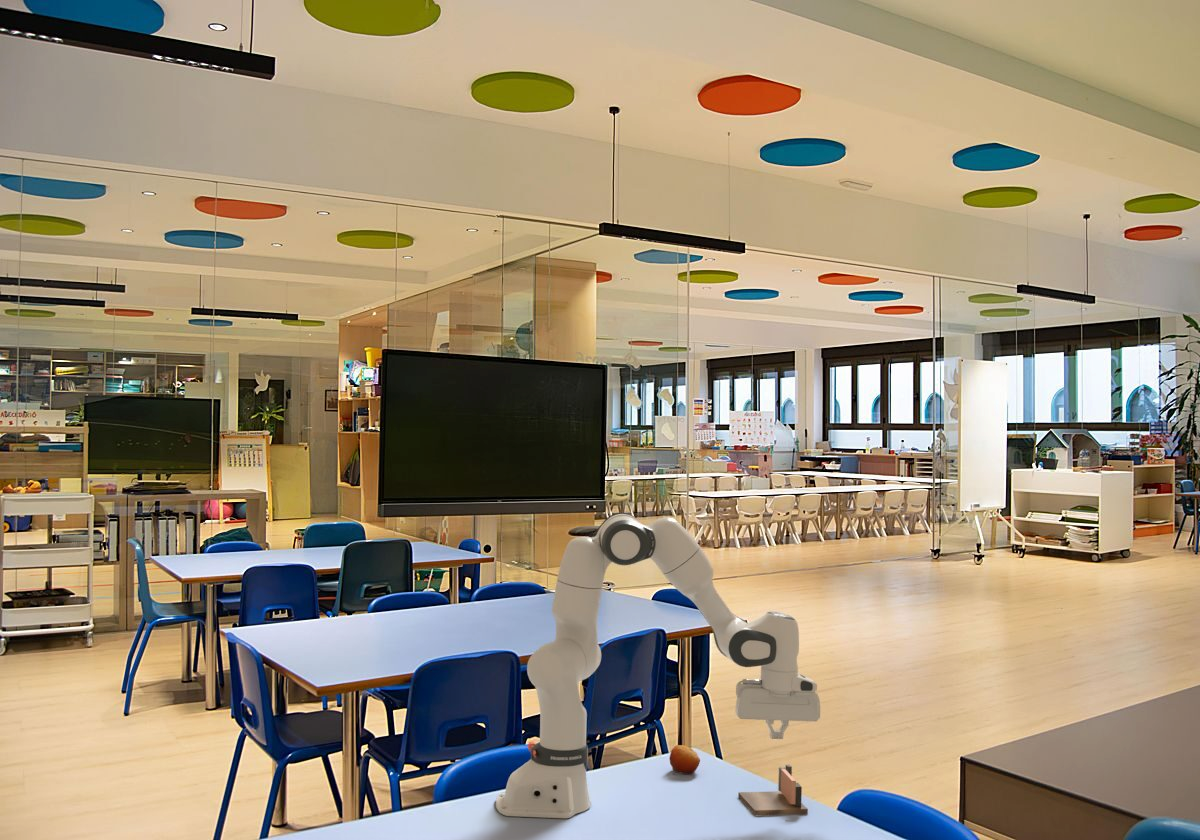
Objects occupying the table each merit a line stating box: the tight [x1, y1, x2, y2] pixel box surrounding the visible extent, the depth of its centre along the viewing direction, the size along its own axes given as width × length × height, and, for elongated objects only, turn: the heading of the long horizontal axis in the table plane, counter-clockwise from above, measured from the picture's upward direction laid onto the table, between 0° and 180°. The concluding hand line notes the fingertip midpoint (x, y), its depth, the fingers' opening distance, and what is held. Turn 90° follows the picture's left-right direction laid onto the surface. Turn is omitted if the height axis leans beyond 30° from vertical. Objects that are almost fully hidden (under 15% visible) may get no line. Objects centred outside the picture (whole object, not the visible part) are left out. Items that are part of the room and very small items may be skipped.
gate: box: [777, 766, 797, 804], centre depth 233 cm, size 11×2×6 cm, turn 5°
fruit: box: [669, 744, 701, 775], centre depth 256 cm, size 8×8×8 cm
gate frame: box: [738, 764, 809, 816], centre depth 232 cm, size 13×13×8 cm
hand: (776, 738), depth 231 cm, fingers closed
